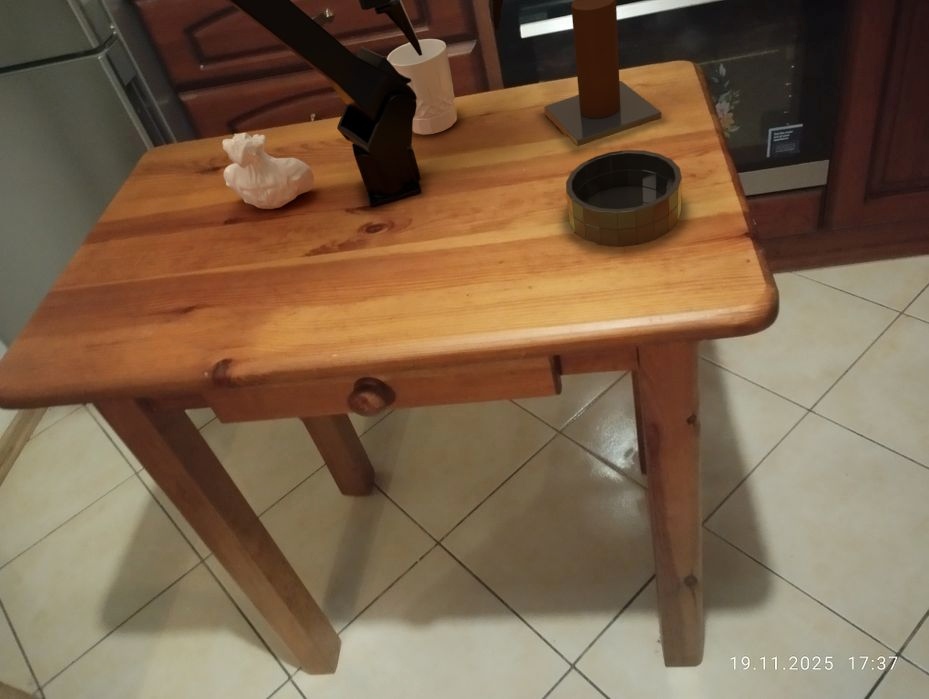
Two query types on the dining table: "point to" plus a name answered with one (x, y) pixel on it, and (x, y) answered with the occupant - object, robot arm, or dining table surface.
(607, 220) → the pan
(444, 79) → the white cup
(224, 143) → the white lumpy figure
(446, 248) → the dining table surface
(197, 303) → the dining table surface
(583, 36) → the brown cylinder
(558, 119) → the plate
